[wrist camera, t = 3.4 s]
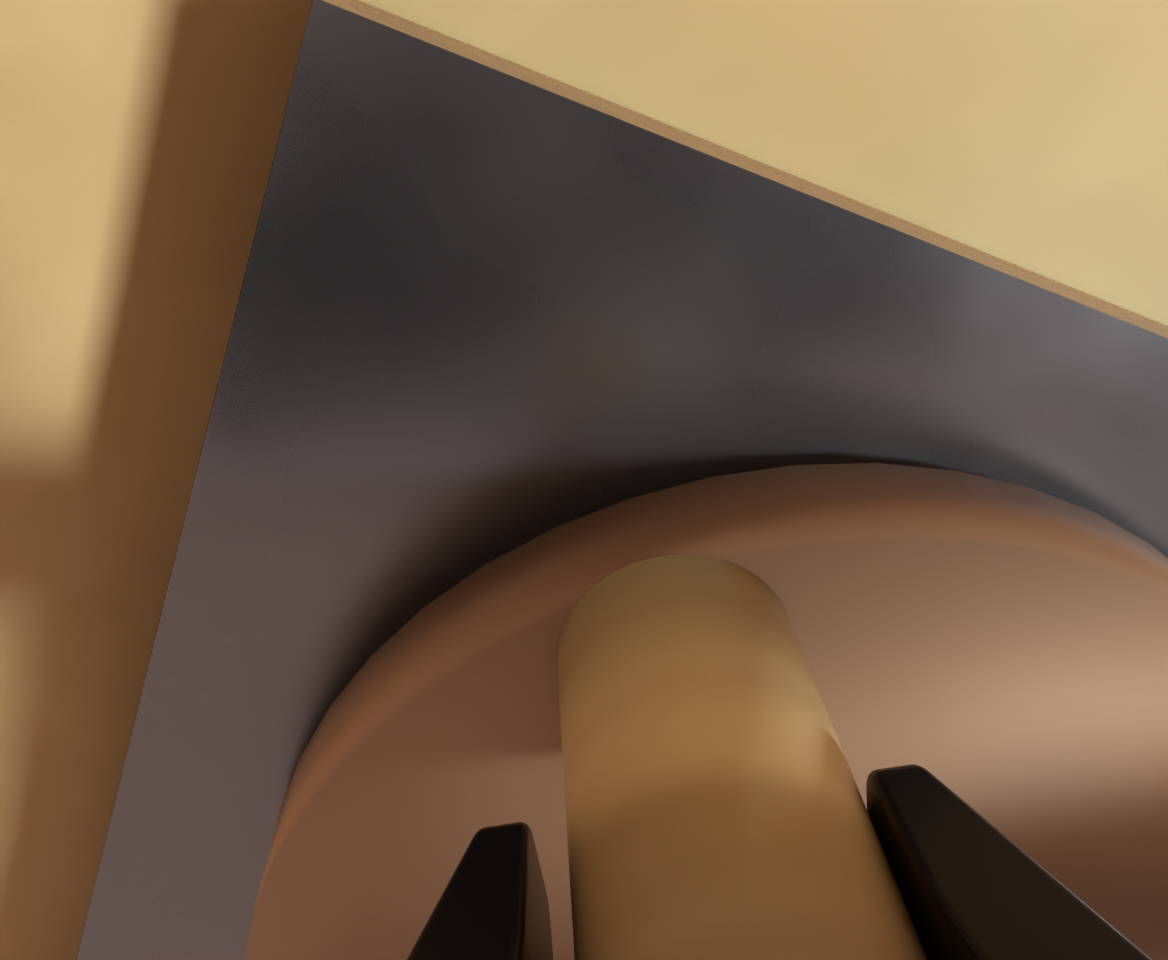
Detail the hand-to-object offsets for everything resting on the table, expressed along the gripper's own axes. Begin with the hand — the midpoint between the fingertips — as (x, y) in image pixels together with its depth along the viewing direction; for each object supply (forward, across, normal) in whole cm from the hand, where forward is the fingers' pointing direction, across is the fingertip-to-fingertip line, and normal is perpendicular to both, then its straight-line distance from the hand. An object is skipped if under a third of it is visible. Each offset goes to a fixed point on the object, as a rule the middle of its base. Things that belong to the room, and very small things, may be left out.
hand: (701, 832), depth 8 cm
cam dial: (+4, -1, +6) cm, 7 cm away
